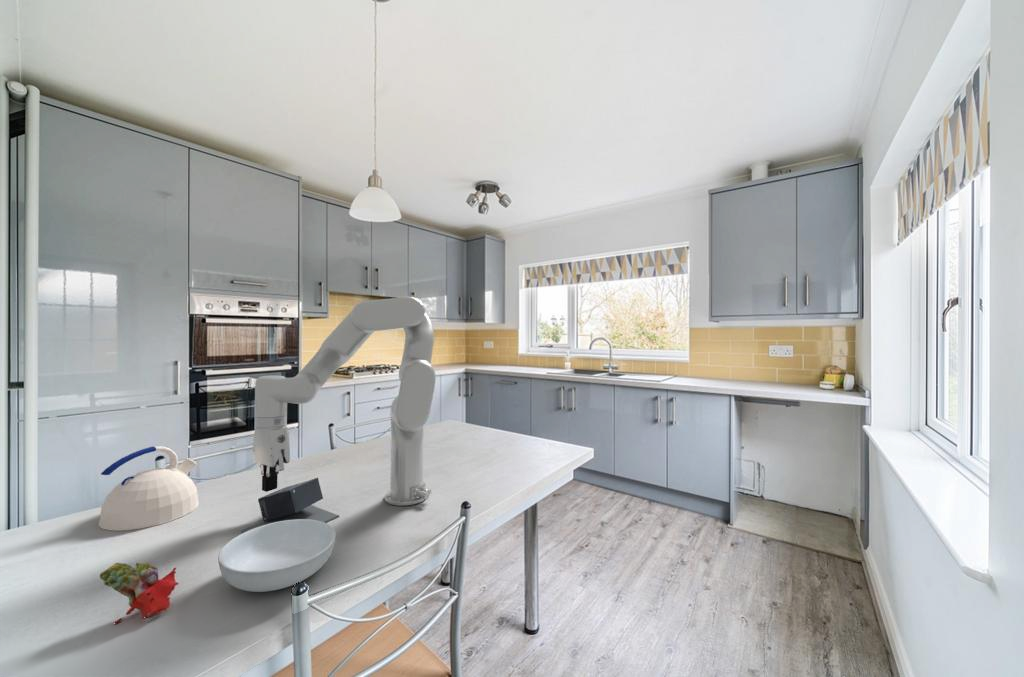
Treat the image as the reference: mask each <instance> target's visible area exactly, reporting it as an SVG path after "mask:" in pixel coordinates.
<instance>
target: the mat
mask: <svg viewBox="0 0 1024 677" xmlns="http://www.w3.org/2000/svg"><path fill="white" fill-rule="evenodd" d="M337 518H340V515H339V514H337V513H334V512H330V511H328V510H325V509H322V508H320V507H317V506H315V505H313V504H312V505H310V506H308V507H306V508H304V509H302V510H300V511H299V512H297V513H293V514H290V515H286V516H283V517H279V518H276V519H272V520H268V521H265V522H264V521H263V522H260V523H258V524H254V525H252V526H249V527H247V528H244V529H242V530H241V534H243V533H245V532H247V531H249V530H252V529H254V528H257V527H260V526H263V525H267V524H270V523H275V522H280V521H286V520H296V519H308V520H317V521H321V522H325V523H328V522H330V521H333V520H335V519H337Z"/></svg>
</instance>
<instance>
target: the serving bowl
mask: <svg viewBox="0 0 1024 677" xmlns="http://www.w3.org/2000/svg"><path fill="white" fill-rule="evenodd" d="M336 535H337V533H336V530H335V528H334V527H333V526H332V525H330V524H329V523H328V522H326V523H325V522H321V521H317V520H308V519H296V520H286V521H280V522H275V523H270V524H267V525H263V526H260V527H257V528H254V529H252V530H249V531H247V532H245V533H241V534H239V535H237V536H236V537H234V538H232V539H231V540H230V541H228V542H227V543H226V544H225V545H224V546H223V547H222V548H221V549H220V551H219V553H218V555H217V559H218V560H217V561H218V567H219V570H220V573H221V575H222V577H223V579H224V580H225V581H226V582H227V583H228V584H230V585H231V586H232V587H234V588H236V589H239V590H242V591H245V592H246V591H247V592H253V593H254V592H255V593H257V592H258V593H263V592H264V593H265V592H273V591H277V590H282V589H285V588H288V587H292V586H294V585H297V584H298V582H299V583H301V582H303V581H305V580H307V579H308V578H310V577H311V576H313V575H314V574H315V573H317V571H319V570H320V569H321V568H322V567H323V566H324V565H325V564H326V563H327V561H328V560H329V558H330V557H331V555H332V552H333V550H334V546H335V542H336V537H337V536H336ZM296 583H297V584H296Z"/></svg>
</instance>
